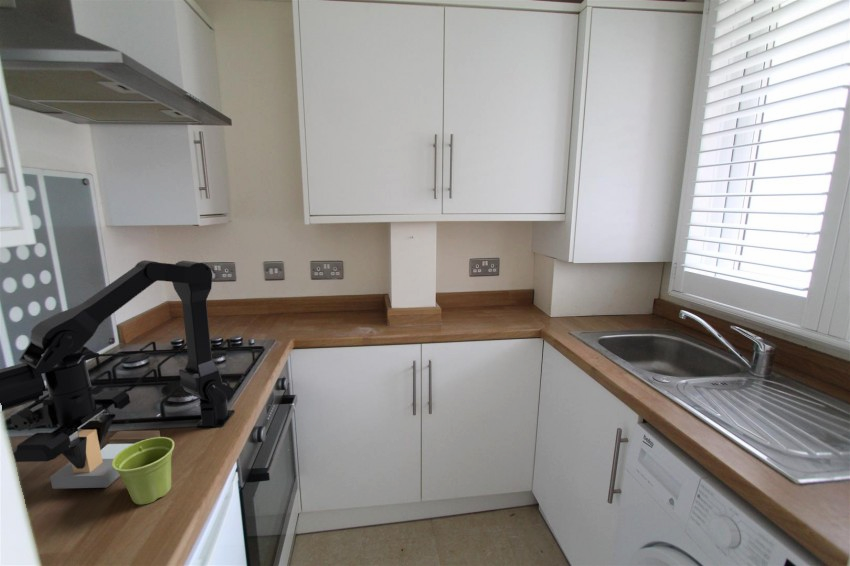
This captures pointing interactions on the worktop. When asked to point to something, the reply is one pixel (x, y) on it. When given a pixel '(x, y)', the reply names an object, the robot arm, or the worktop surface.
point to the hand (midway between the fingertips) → (88, 461)
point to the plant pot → (146, 468)
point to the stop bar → (132, 436)
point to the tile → (112, 450)
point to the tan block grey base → (87, 468)
